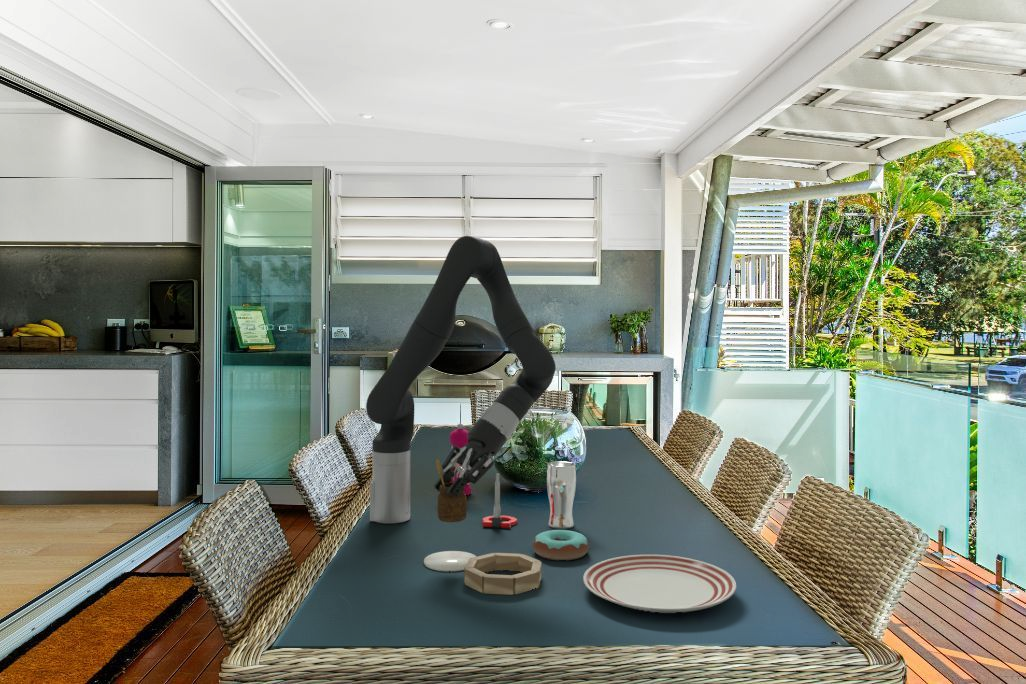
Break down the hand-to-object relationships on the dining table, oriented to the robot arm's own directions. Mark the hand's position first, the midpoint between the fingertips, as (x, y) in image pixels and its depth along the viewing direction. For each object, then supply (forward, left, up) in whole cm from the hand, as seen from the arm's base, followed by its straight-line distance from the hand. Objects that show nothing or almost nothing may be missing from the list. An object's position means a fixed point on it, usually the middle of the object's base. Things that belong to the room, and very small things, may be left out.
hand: (444, 492), depth 154 cm
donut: (+23, +10, -15) cm, 30 cm away
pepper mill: (-8, +59, -15) cm, 61 cm away
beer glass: (+22, +31, -15) cm, 41 cm away
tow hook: (+7, +31, -15) cm, 35 cm away
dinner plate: (+42, -11, -15) cm, 46 cm away
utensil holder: (+1, +1, -6) cm, 6 cm away
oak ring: (+13, -8, -15) cm, 21 cm away
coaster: (+1, +1, -15) cm, 15 cm away
